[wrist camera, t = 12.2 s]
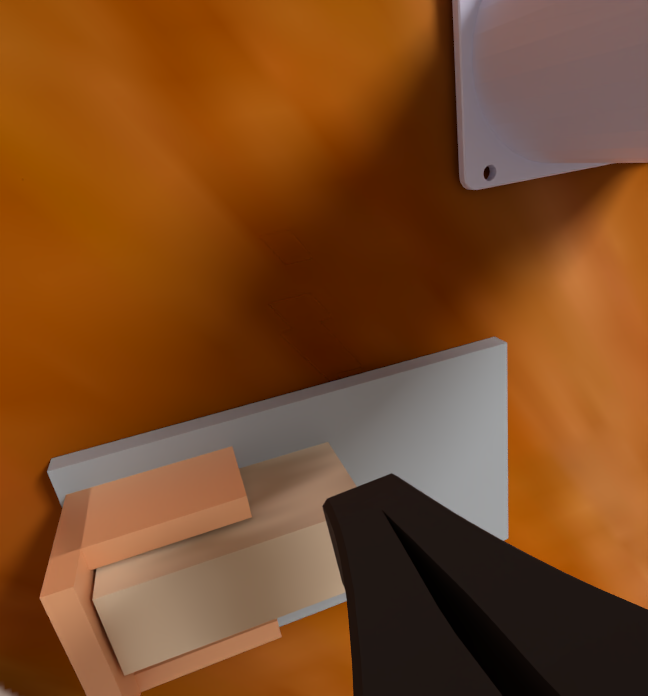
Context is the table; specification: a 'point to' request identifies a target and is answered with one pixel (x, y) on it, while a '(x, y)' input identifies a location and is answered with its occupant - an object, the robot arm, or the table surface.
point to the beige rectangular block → (229, 566)
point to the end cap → (130, 540)
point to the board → (353, 435)
